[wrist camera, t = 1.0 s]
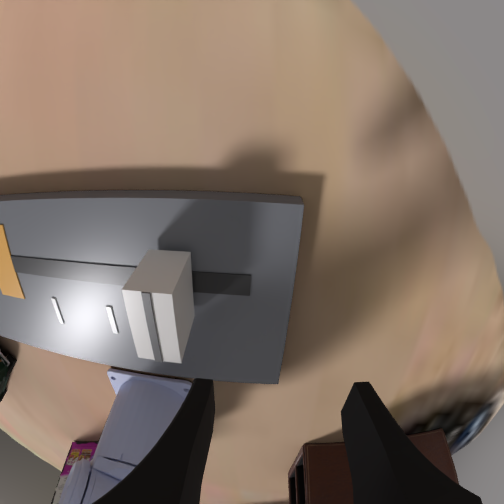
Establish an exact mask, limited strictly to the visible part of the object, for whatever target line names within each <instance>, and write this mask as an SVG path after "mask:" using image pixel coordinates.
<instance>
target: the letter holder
mask: <svg viewBox="0 0 504 504" xmlns="http://www.w3.org/2000/svg"><path fill="white" fill-rule="evenodd" d="M407 437H408V438H409V439H410V440H411V441H412V443H413V444H414V445H415V446H416V447H417V448H418V450H419V451H420V452H421V453H422V454H423V455H424V456H425V457H426V458H427V459H428V460H429V461H430V462H431V463H432V464H433V465H434V466H436V467H437V468H438V469H439V470H440V471H442V472H443V473H444V474H445V475H446V476H448V477H449V478H450V479H451V480H453V481H454V482H456V483H457V484H458V485H459V483H458V478H457V473H456V470H455V466H454V463H453V460H452V457H451V453H450V450H449V447H448V444H447V440H446V437H445V434H444V431H443V429H442V428H440V429H436V430H431V431H427V432H421V433H416V434H410V435H407ZM288 484H289V487H288V488H289V504H354V502H353V485H352V478H351V473H350V467H349V462H348V457H347V452H346V447H345V442H338V443H311V444H307V443H306V444H304V445H303V446H302V448H301V450H300V452H299V453H298V456H297V457H296V459H295V461H294V463H293V465H292V467H291V468H290V470H289V473H288Z"/></svg>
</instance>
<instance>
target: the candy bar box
mask: <svg viewBox="0 0 504 504" xmlns="http://www.w3.org/2000/svg"><path fill="white" fill-rule="evenodd" d="M98 443H99V442H72V445H71V448H70V450H69V453H68V456H67V458H66V461H65V464H64V467H63V470H62V472H61V475H60V478H59V482H58V484H57V487H56V490H55V493H54V496H53V499H52V502H51V504H59V500H60V497H61V494H62V491H63V488H64V485H65V482H66V480H67V477H68V475H69V473H70V470H71V468H72V466H73V465H74V463H75V462H76V461H81V460H82V459H86V460H88V461H91V460H92V459H93V457H94V454H95V451H96V448H97V445H98Z"/></svg>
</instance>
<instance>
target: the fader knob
mask: <svg viewBox="0 0 504 504" xmlns="http://www.w3.org/2000/svg"><path fill="white" fill-rule="evenodd" d="M122 293H123V298H124V302H125V307H126V311H127V316H128V320H129V324H130V328H131V332H132V336H133V340H134V344H135V348H136V351H137V355H138V358H145V359H152V360H155V361H156V362H163V361H166V362H174V363H182V359H183V356H184V352H185V348H186V345H187V341H188V338H189V334H190V330H191V327H192V323H193V320H194V317H195V314H194V300H193V285H192V269H191V252H185V251H168V250H152V249H149V250H148V251H147V253H146V254H145V256H144V257H143V259H142V260H141V262H140V263H139V264H138V266H137V267H136V269H135V270H134V272H133V273H132V275H131V276H130V278H129V279H128V281H127V282H126V284H125V285H124V287H123V288H122Z"/></svg>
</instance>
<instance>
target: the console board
mask: <svg viewBox="0 0 504 504" xmlns="http://www.w3.org/2000/svg"><path fill="white" fill-rule="evenodd" d="M303 210H304V204H303V201H302V199H301V197H300V196H286V195H271V194H255V193H235V192H211V191H174V190H97V191H63V192H41V193H23V194H9V195H0V336H3V337H6V338H9V339H12V340H15V341H18V342H21V343H24V344H27V345H31V346H34V347H37V348H41V349H44V350H48V351H51V352H55V353H59V354H63V355H67V356H71V357H75V358H79V359H83V360H87V361H92V362H96V363H101V364H106V365H111V366H116V367H121V368H126V369H132V370H138V371H144V372H150V373H156V374H163V375H171V376H178V377H186V378H195V379H196V378H203V379H213V380H215V381H227V382H241V383H260V384H278V382H279V376H280V370H281V365H282V359H283V353H284V347H285V341H286V334H287V328H288V322H289V315H290V309H291V302H292V295H293V288H294V281H295V274H296V266H297V259H298V251H299V243H300V235H301V227H302V219H303ZM149 249H152V250H168V251H185V252H191V269H192V285H193V300H194V314H195V317H194V320H193V323H192V327H191V330H190V334H189V338H188V341H187V345H186V348H185V352H184V356H183V359H182V363H174V362H166V361H163V362H156V361H155V360H152V359H145V358H138V355H137V351H136V348H135V344H134V340H133V336H132V332H131V328H130V324H129V320H128V316H127V311H126V307H125V302H124V298H123V293H122V288H123V287H124V285H125V284H126V282H127V281H128V279H129V278H130V276H131V275H132V273H133V272H134V270H135V269H136V267H137V266H138V264H139V263H140V262H141V260H142V259H143V257H144V256H145V254H146V253H147V251H148V250H149Z"/></svg>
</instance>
